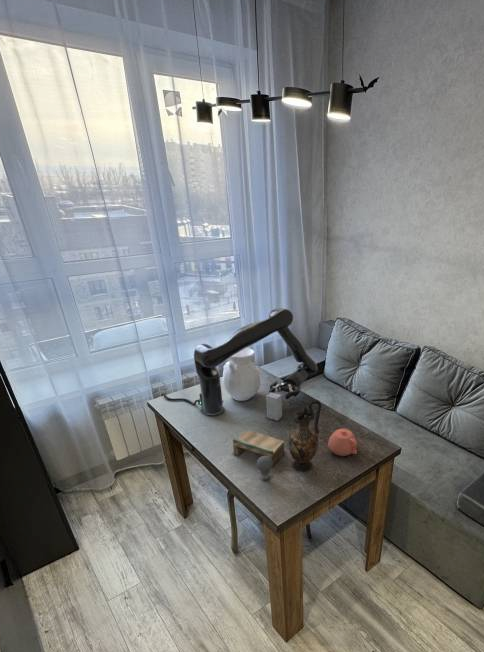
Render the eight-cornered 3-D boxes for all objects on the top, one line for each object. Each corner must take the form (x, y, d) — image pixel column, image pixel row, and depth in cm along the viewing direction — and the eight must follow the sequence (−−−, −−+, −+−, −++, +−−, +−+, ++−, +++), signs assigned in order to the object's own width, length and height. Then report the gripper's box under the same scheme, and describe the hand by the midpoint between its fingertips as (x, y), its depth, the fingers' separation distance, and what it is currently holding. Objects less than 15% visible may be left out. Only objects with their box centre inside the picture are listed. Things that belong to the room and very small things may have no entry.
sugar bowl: (341, 438, 176) (343, 418, 171) (365, 452, 168) (367, 433, 163) (321, 449, 169) (322, 429, 164) (345, 465, 160) (347, 444, 155)
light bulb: (258, 472, 154) (256, 452, 149) (273, 472, 155) (273, 452, 150) (257, 483, 149) (255, 462, 144) (273, 483, 150) (272, 462, 144)
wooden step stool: (234, 454, 163) (232, 439, 160) (247, 441, 171) (246, 426, 168) (272, 466, 158) (271, 451, 154) (284, 452, 166) (284, 438, 162)
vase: (285, 458, 162) (285, 395, 147) (315, 454, 165) (317, 391, 150) (291, 477, 153) (291, 411, 137) (322, 472, 156) (325, 407, 141)
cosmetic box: (282, 416, 189) (282, 395, 183) (277, 421, 186) (277, 399, 180) (271, 413, 191) (270, 391, 185) (266, 417, 188) (265, 395, 182)
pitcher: (249, 408, 194) (246, 362, 181) (217, 401, 199) (212, 355, 186) (267, 392, 209) (266, 348, 196) (237, 385, 214) (233, 341, 202)
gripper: (281, 371, 200) (264, 385, 187) (306, 377, 196) (291, 391, 183) (281, 384, 204) (265, 398, 191) (306, 391, 199) (291, 405, 186)
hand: (278, 395), depth 187 cm, fingers open, 8 cm apart
